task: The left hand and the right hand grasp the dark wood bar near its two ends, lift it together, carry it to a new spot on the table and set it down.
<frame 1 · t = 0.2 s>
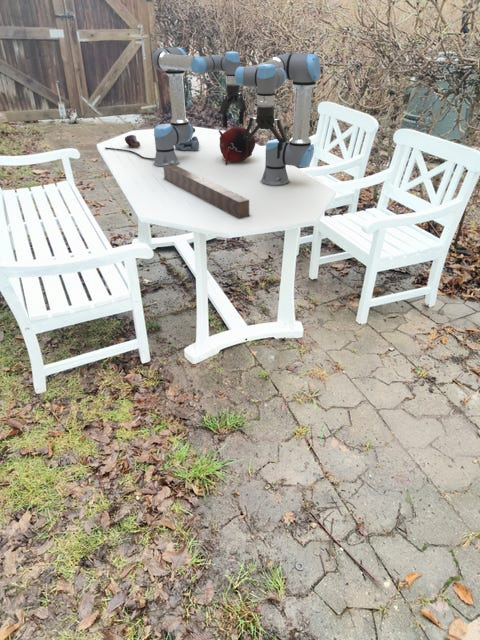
left hand: (233, 125, 259), 28 cm above the table, tool pointing down, fingers open, 13 cm apart
right hand: (264, 156, 205), 27 cm above the table, tool pointing down, fingers open, 13 cm apart
rock: (132, 147, 332), on the table
bar: (202, 195, 243), on the table
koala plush: (186, 148, 327), on the table
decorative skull: (237, 159, 301), on the table
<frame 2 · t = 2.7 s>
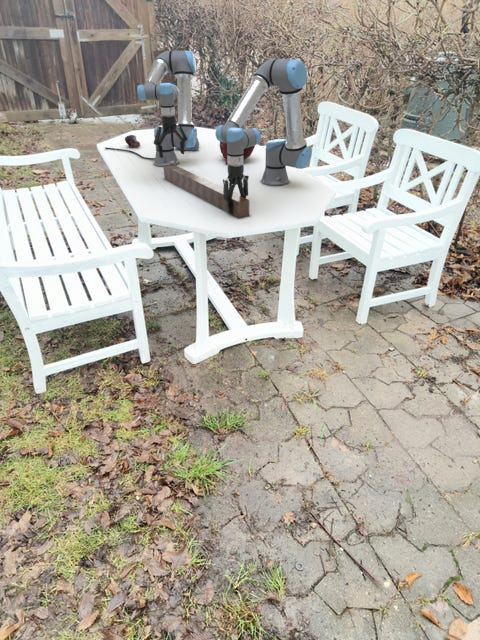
left hand: (172, 155, 256), 14 cm above the table, tool pointing down, fingers open, 13 cm apart
right hand: (236, 212, 221), 0 cm above the table, tool pointing down, fingers closed on bar, 6 cm apart
bar: (202, 195, 243), on the table, touching right hand
everything else where it was.
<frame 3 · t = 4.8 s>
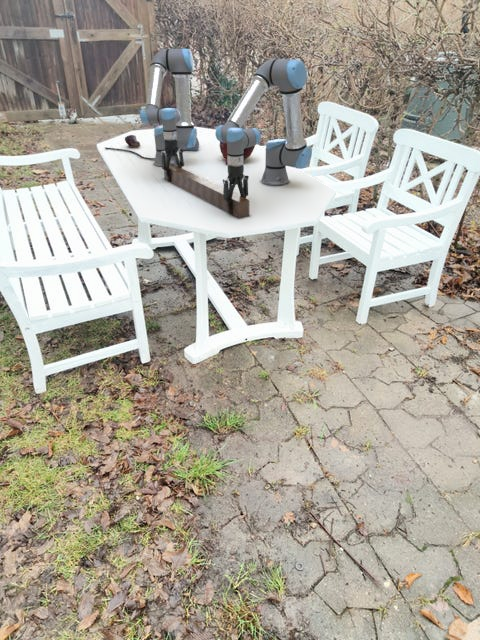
left hand: (174, 180, 264), 0 cm above the table, tool pointing down, fingers closed on bar, 6 cm apart
right hand: (236, 212, 221), 0 cm above the table, tool pointing down, fingers closed on bar, 6 cm apart
bar: (202, 195, 243), on the table, touching left hand, right hand
everything else where it was.
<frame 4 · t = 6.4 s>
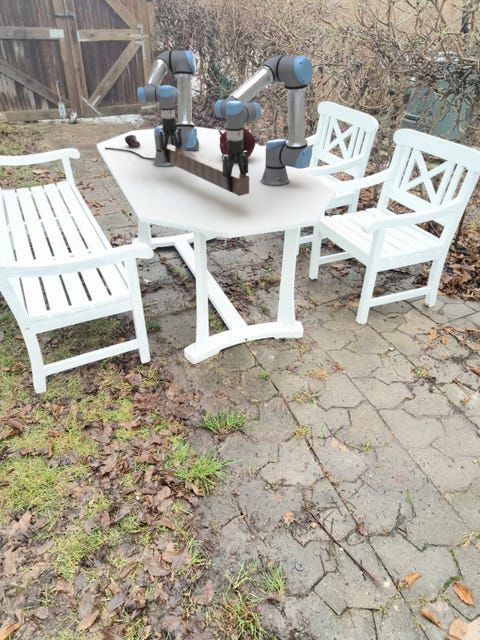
left hand: (172, 160, 258), 11 cm above the table, tool pointing down, fingers closed on bar, 6 cm apart
right hand: (235, 189, 215), 11 cm above the table, tool pointing down, fingers closed on bar, 6 cm apart
bar: (201, 175, 237), point 11 cm above the table, touching left hand, right hand
everything else where it was.
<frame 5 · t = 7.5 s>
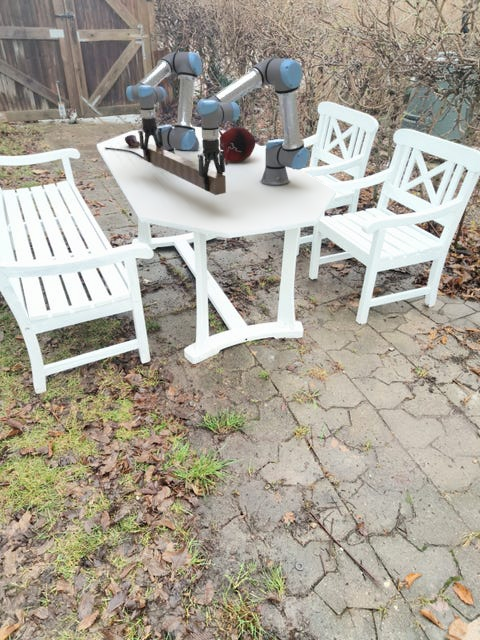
left hand: (153, 160, 259), 12 cm above the table, tool pointing down, fingers closed on bar, 6 cm apart
right hand: (212, 189, 216), 12 cm above the table, tool pointing down, fingers closed on bar, 6 cm apart
bar: (180, 174, 237), point 11 cm above the table, touching left hand, right hand
everything else where it was.
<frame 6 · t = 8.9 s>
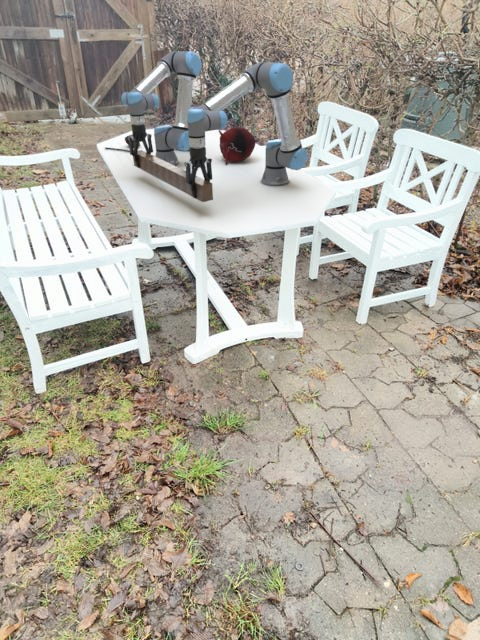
left hand: (143, 166, 261), 8 cm above the table, tool pointing down, fingers closed on bar, 6 cm apart
right hand: (200, 196, 218), 8 cm above the table, tool pointing down, fingers closed on bar, 6 cm apart
bar: (169, 180, 240), point 8 cm above the table, touching left hand, right hand
everything else where it was.
when the left hand's fingers open (2 cm above the table, at t = 10.1 s): bar stays where it is, on the table.
when the right hand's fingers open (1 cm above the table, at t = 10.1 s): bar stays where it is, on the table.
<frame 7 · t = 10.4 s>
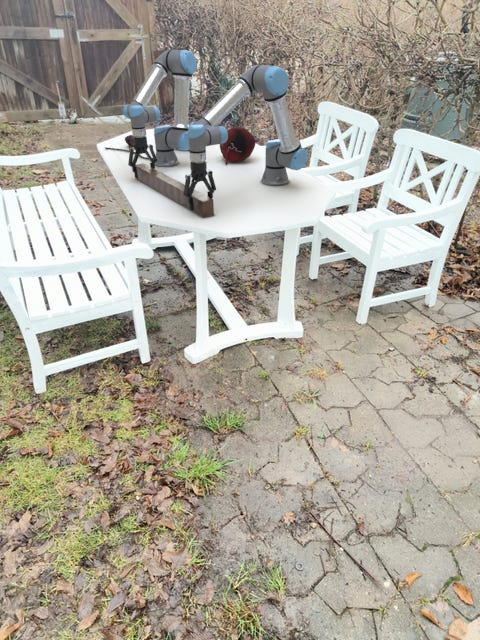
left hand: (144, 176, 264), 3 cm above the table, tool pointing down, fingers open, 10 cm apart
right hand: (200, 207, 221), 3 cm above the table, tool pointing down, fingers open, 10 cm apart
bar: (171, 195, 244), on the table
everything else where it was.
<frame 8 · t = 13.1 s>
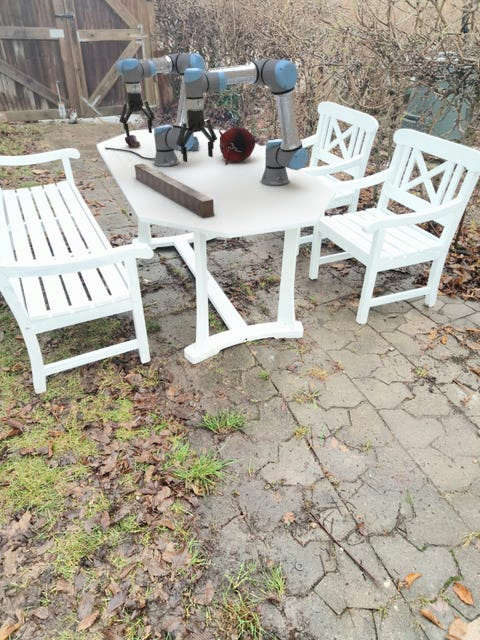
left hand: (139, 134, 251), 26 cm above the table, tool pointing down, fingers open, 13 cm apart
right hand: (198, 159, 208), 26 cm above the table, tool pointing down, fingers open, 13 cm apart
nothing on the table moved.
at the end: bar inside the target area (0.2 cm from its centre), on the table; bar tilted 0°; bar never tilted more than 2° during the clip; both hands held the bar at the same time; the left hand is holding nothing; the right hand is holding nothing; bar at rest at the end (0.0 cm/s) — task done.
